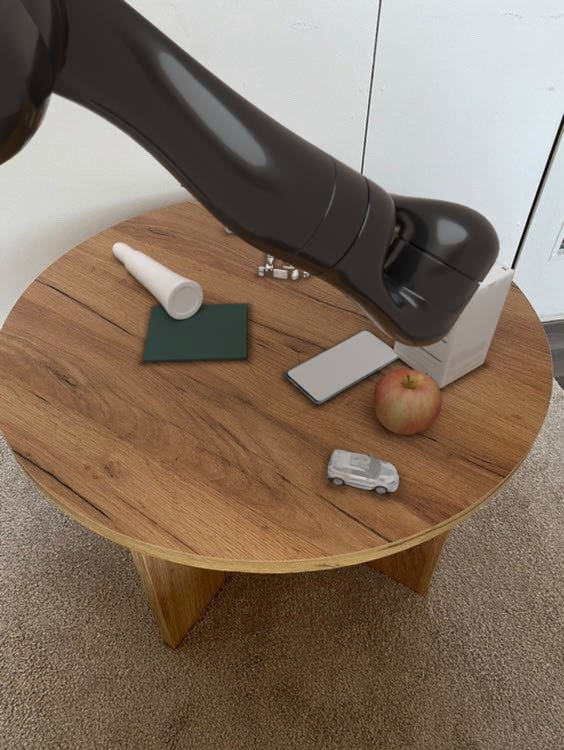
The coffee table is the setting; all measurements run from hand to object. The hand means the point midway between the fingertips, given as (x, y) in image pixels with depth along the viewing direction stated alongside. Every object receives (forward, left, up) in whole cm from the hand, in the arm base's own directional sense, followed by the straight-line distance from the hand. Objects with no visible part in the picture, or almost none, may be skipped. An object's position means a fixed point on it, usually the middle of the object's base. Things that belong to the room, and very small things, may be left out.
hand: (188, 128), depth 61 cm
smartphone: (+18, -6, -30) cm, 35 cm away
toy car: (+18, -24, -30) cm, 42 cm away
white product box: (+31, -5, -30) cm, 43 cm away
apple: (+24, -16, -30) cm, 42 cm away
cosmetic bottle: (-3, +5, -26) cm, 27 cm away
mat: (-2, +2, -30) cm, 30 cm away
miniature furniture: (+20, +16, -30) cm, 39 cm away
